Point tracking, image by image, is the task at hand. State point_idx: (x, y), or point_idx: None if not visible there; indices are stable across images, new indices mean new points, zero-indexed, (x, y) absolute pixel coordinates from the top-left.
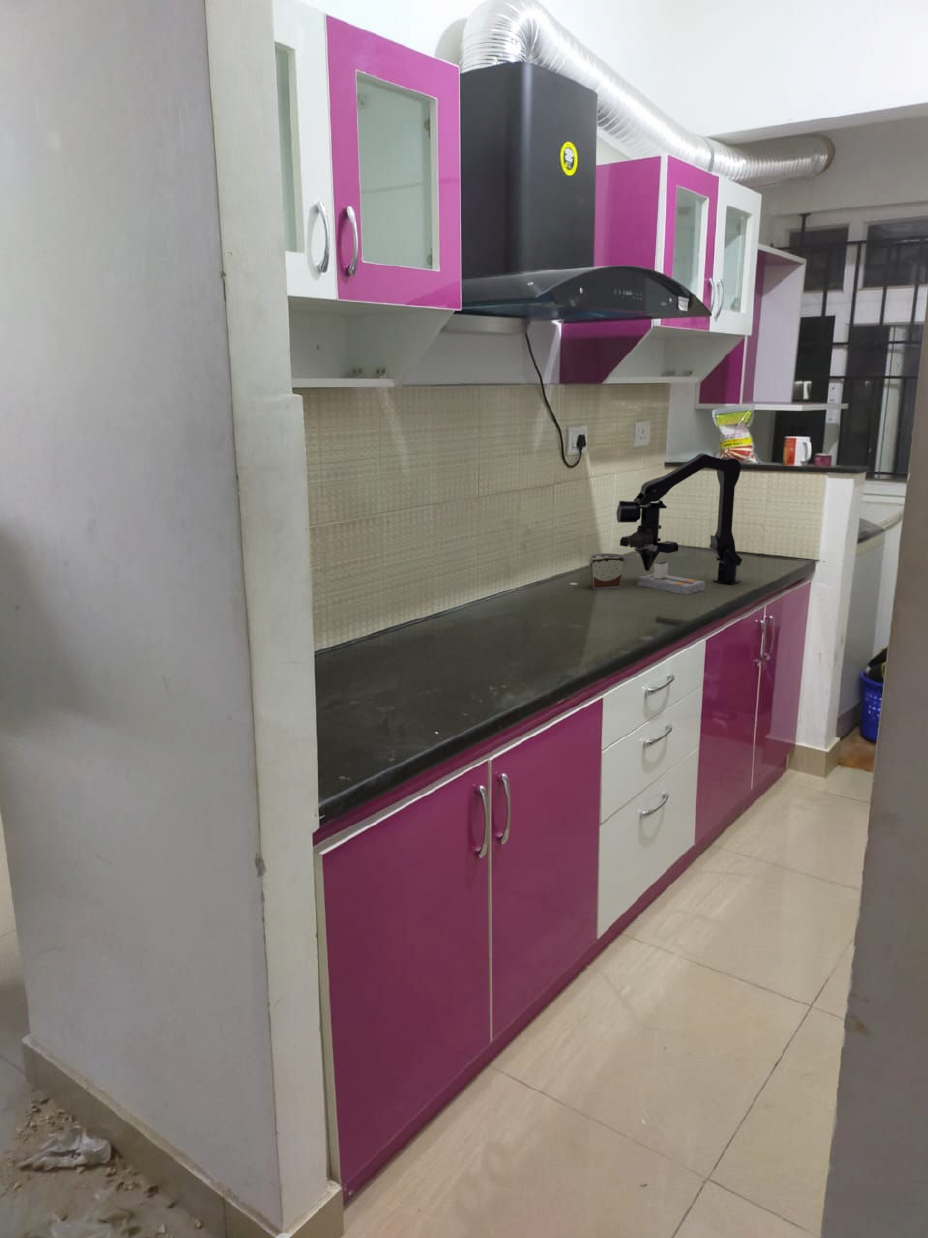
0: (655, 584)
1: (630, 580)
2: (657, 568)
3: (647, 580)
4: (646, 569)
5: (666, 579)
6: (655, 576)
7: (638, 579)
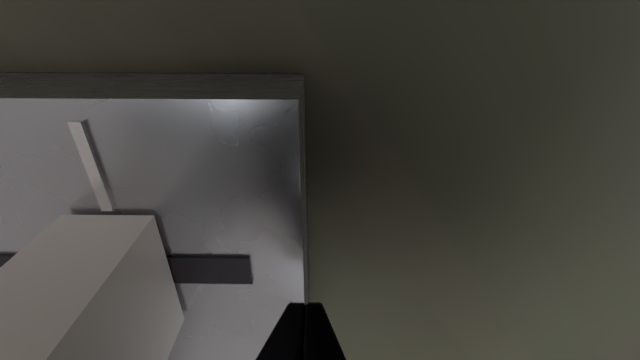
0: (36, 85)
1: (474, 199)
2: (11, 316)
3: (143, 95)
4: (300, 313)
5: (21, 242)
6: (118, 224)
7: (292, 93)
